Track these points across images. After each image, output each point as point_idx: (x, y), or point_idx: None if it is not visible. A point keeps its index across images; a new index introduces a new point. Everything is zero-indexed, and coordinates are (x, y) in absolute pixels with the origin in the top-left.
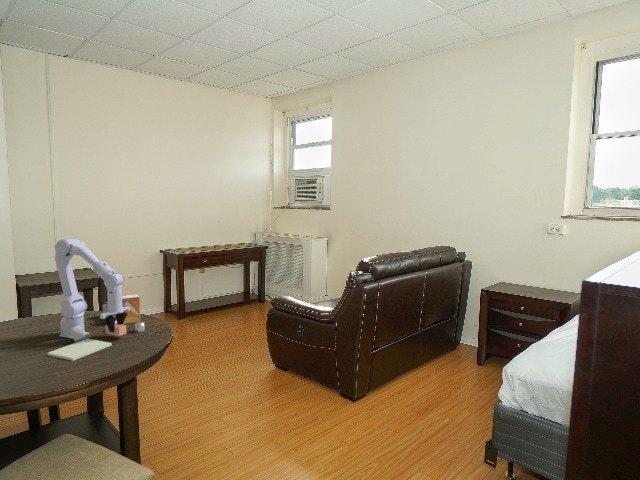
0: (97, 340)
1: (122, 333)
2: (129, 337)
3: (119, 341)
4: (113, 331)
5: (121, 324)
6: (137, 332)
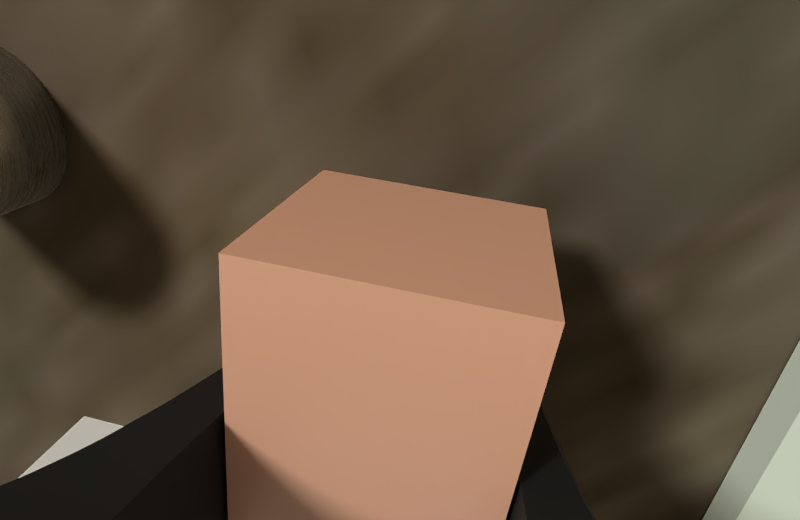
0: (752, 494)
1: (438, 201)
2: (333, 86)
3: (612, 127)
4: None
5: (235, 423)
6: (61, 125)
